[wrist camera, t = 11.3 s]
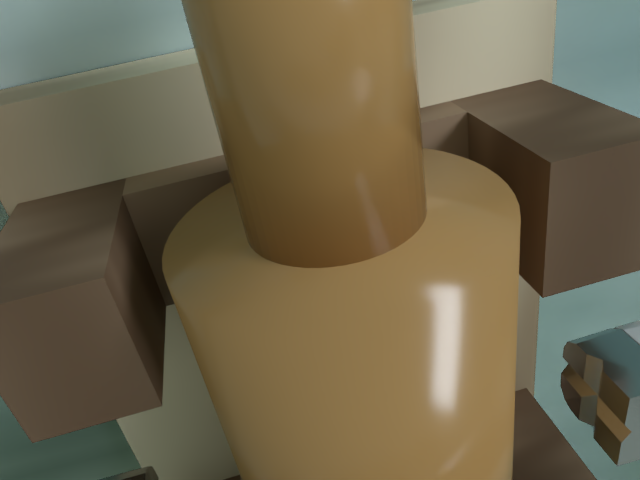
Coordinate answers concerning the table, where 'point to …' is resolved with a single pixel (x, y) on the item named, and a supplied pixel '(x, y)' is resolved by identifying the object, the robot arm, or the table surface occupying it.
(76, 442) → the table surface
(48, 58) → the table surface
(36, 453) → the table surface
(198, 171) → the bottle rest
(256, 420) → the amber bottle
